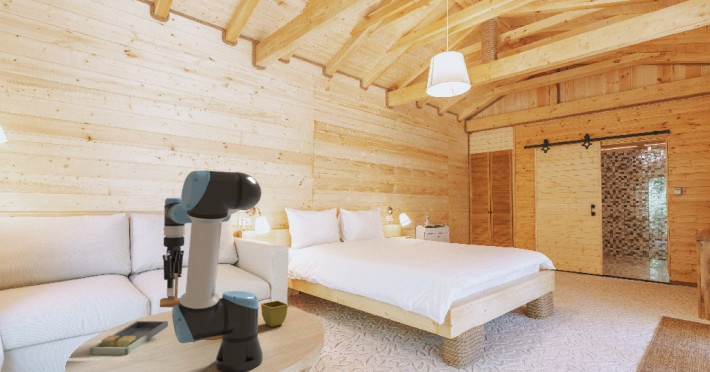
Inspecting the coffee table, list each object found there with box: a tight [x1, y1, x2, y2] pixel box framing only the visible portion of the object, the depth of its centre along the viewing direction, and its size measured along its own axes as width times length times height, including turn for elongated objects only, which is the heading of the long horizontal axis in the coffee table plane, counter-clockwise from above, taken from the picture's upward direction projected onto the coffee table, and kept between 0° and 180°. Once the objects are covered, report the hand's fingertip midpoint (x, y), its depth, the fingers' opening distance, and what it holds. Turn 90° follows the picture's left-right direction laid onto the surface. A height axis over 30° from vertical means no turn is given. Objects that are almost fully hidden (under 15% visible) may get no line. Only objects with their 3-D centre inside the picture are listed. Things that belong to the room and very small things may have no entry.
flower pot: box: [260, 300, 289, 328], centre depth 163 cm, size 9×9×9 cm
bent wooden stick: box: [159, 273, 180, 308], centre depth 149 cm, size 3×9×13 cm, turn 91°
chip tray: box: [89, 334, 148, 355], centre depth 134 cm, size 12×13×3 cm
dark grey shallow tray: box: [113, 320, 169, 342], centre depth 148 cm, size 16×13×3 cm
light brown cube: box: [118, 336, 136, 347], centre depth 134 cm, size 4×4×4 cm
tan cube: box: [101, 335, 120, 347], centre depth 134 cm, size 4×4×4 cm
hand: (172, 294), depth 149 cm, fingers closed on bent wooden stick, 3 cm apart
